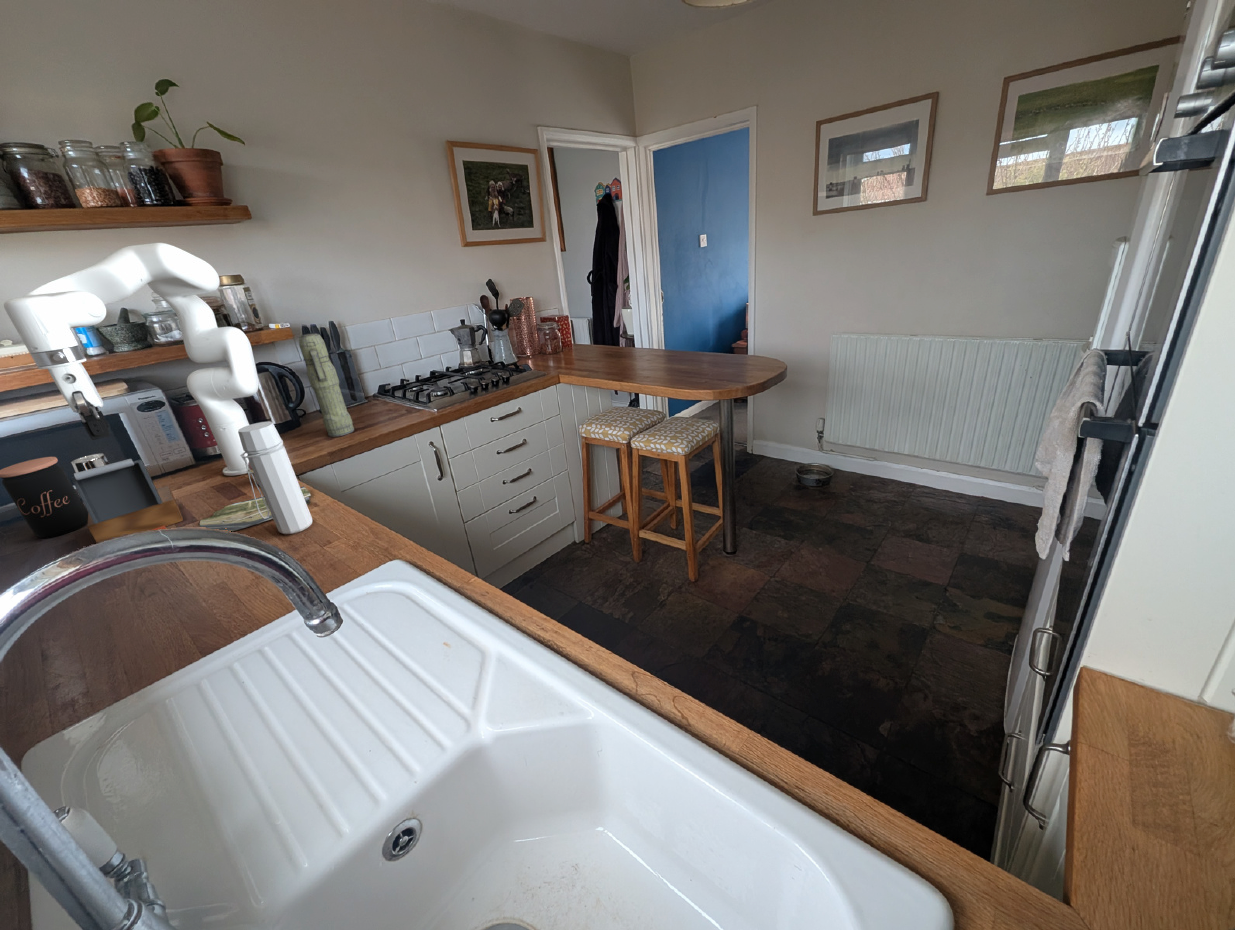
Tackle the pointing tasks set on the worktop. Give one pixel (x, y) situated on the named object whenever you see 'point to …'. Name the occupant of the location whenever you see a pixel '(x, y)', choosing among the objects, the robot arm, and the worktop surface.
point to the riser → (139, 518)
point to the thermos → (325, 385)
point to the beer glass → (89, 462)
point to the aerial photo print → (242, 514)
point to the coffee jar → (45, 497)
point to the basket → (116, 489)
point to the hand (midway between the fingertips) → (101, 433)
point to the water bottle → (275, 477)
